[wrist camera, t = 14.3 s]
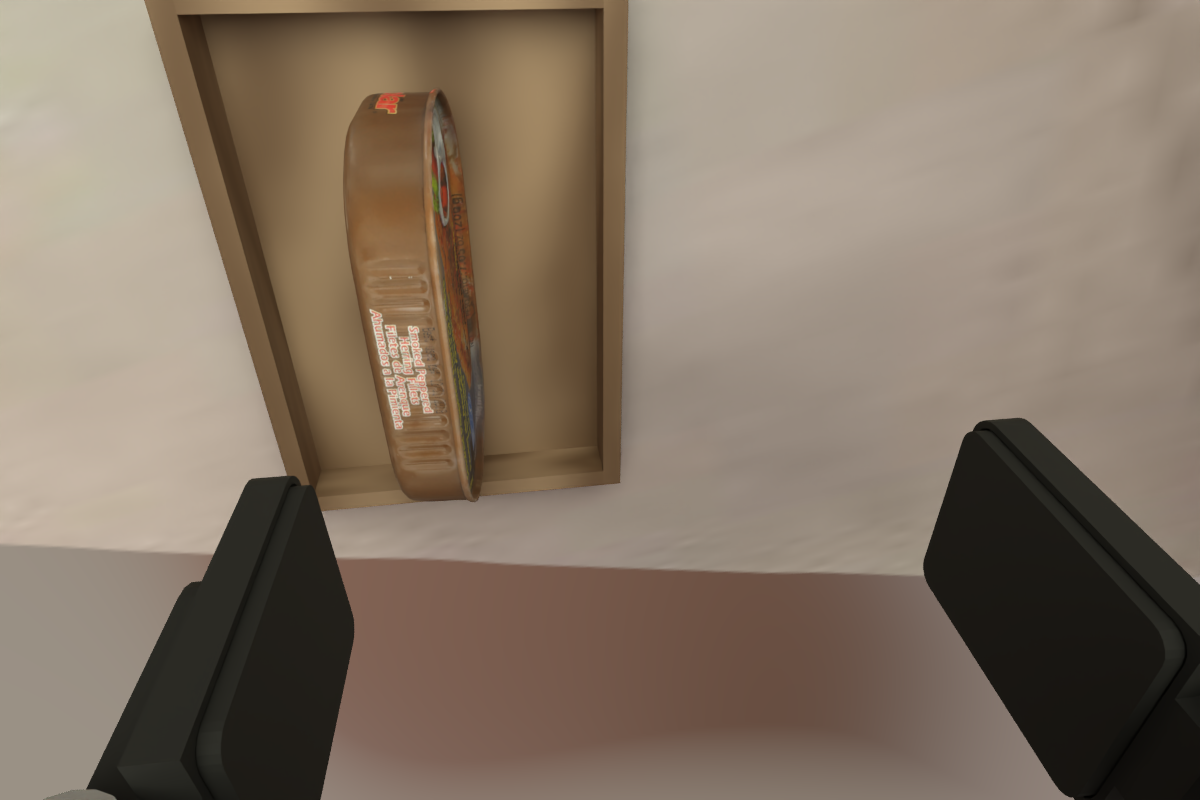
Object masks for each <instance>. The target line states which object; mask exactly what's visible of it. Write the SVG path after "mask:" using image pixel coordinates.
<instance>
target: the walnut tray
mask: <svg viewBox="0 0 1200 800" xmlns="http://www.w3.org/2000/svg"><path fill="white" fill-rule="evenodd" d="M144 1H145V4H146V8H147V11H148V14H149V17H150V21H151V24H152V27H153V31H154V34H155V37H156V41H157V44H158V47H159V51H160V54H161V57H162V61H163V64H164V67H165V71H166V74H167V77H168V81H169V84H170V87H171V91H172V94H173V97H174V101H175V104H176V107H177V111H178V114H179V117H180V121H181V124H182V127H183V131H184V134H185V137H186V141H187V144H188V147H189V151H190V154H191V157H192V160H193V164H194V167H195V170H196V174H197V177H198V180H199V184H200V187H201V190H202V194H203V197H204V200H205V204H206V207H207V210H208V214H209V217H210V220H211V224H212V227H213V230H214V234H215V237H216V240H217V244H218V247H219V250H220V254H221V257H222V260H223V264H224V267H225V270H226V274H227V277H228V280H229V284H230V287H231V290H232V294H233V297H234V300H235V304H236V307H237V310H238V313H239V317H240V320H241V323H242V327H243V330H244V333H245V337H246V340H247V343H248V347H249V350H250V353H251V357H252V360H253V363H254V367H255V370H256V373H257V377H258V380H259V383H260V387H261V390H262V393H263V397H264V400H265V403H266V407H267V410H268V413H269V417H270V420H271V423H272V427H273V430H274V433H275V437H276V440H277V443H278V447H279V450H280V453H281V457H282V460H283V463H284V466H285V470H286V473H287V476H296V477H297V478H298V479H299V481H300V483H301V486H302V485H312V486H313V488H314V490H315V492H316V495H317V498H318V502H319V505H320V508H321V511H327V510H338V509H348V508H359V507H370V506H380V505H391V504H402V503H413V502H423V501H415V500H412V499H410V498H408V497H407V496H406V495H405V494H404V493H403V492H402V490H401V488H400V486H399V484H398V482H397V479H396V477H395V474H394V470H393V467H392V463H391V459H390V455H389V450H388V446H387V441H386V436H385V431H384V428H383V423H382V417H381V413H380V409H379V404H378V399H377V395H376V390H375V384H374V379H373V375H372V370H371V366H370V361H369V356H368V351H367V346H366V341H365V336H364V331H363V326H362V321H361V316H360V310H359V306H358V300H357V295H356V289H355V284H354V280H353V274H352V269H351V263H350V257H349V251H348V243H347V234H346V225H345V215H344V199H343V166H344V149H345V141H346V135H347V131H348V127H349V125H350V123H351V121H352V119H353V117H354V116H355V114H356V112H357V110H358V108H359V106H360V105H361V103H362V101H363V100H364V99H365V98H366V97H367V96H369V95H372V94H377V93H398V92H431V91H432V90H433V89H435V88H439V89H441V90H442V91H443V92H444V94H445V95H446V97H447V100H448V103H449V105H450V108H451V112H452V115H453V119H454V123H455V128H456V133H457V139H458V144H459V151H460V157H461V164H462V170H463V179H464V188H465V197H466V206H467V215H468V225H469V235H470V245H471V255H472V265H473V274H474V284H475V293H476V303H477V312H478V321H479V331H480V341H481V353H482V364H483V378H484V395H485V419H484V467H483V479H482V486H481V492H480V495H479V496H487V495H498V494H509V493H519V492H530V491H541V490H551V489H562V488H573V487H583V486H594V485H605V484H615V483H620V458H621V398H622V339H623V280H624V221H625V162H626V102H627V43H628V0H144Z"/></svg>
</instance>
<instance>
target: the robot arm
mask: <svg viewBox="0 0 1200 800" xmlns="http://www.w3.org/2000/svg"><path fill="white" fill-rule="evenodd" d="M923 570H924V576H925V578H926V581H927V583H928V585H929V587H930V589H931V590H932V592H933V593H934V595H935V597H936V598H937V600H938V601H939V603H940V604H941V606H942V608H943V609H944V611H945V612H946V614H947V615H948V617H949V619H950V620H951V622H952V623H953V625H954V626H955V628H956V630H957V631H958V633H959V634H960V636H961V637H962V639H963V641H964V642H965V644H966V645H967V647H968V648H969V650H970V651H971V653H972V655H973V656H974V658H975V659H976V661H977V663H978V664H979V666H980V667H981V669H982V670H983V672H984V674H985V675H986V677H987V678H988V680H989V681H990V683H991V685H992V686H993V687H994V689H995V691H996V692H997V694H998V695H999V697H1000V699H1001V700H1002V702H1003V703H1004V705H1005V707H1006V708H1007V710H1008V711H1009V713H1010V714H1011V716H1012V717H1013V719H1014V721H1015V722H1016V724H1017V725H1018V727H1019V728H1020V730H1021V732H1022V733H1023V735H1024V736H1025V738H1026V739H1027V741H1028V743H1029V744H1030V746H1031V747H1032V749H1033V750H1034V752H1035V753H1036V755H1037V757H1038V758H1039V760H1040V761H1041V763H1042V764H1043V766H1044V768H1045V769H1046V771H1047V772H1048V774H1049V776H1050V777H1051V779H1052V780H1053V782H1054V783H1055V785H1056V786H1057V787H1058V789H1059V790H1060V791H1061V792H1062V793H1064V794H1065V795H1066V796H1068V797H1073V798H1074V799H1075V800H1200V585H1199V584H1198V583H1197V582H1196V581H1195V580H1194V579H1193V578H1192V577H1191V576H1190V575H1189V574H1188V573H1187V572H1186V571H1185V570H1184V569H1183V568H1182V567H1181V566H1180V565H1178V564H1177V563H1176V562H1175V561H1174V560H1173V559H1172V558H1171V557H1170V556H1169V555H1168V554H1167V553H1166V552H1165V551H1164V550H1163V549H1162V548H1161V547H1160V546H1159V545H1158V544H1157V543H1155V542H1154V541H1153V540H1152V539H1151V538H1150V537H1149V536H1148V535H1147V534H1146V533H1145V532H1144V531H1143V530H1142V529H1141V528H1140V527H1139V526H1138V525H1137V524H1136V523H1135V522H1134V521H1132V520H1131V519H1130V518H1129V517H1128V516H1127V515H1126V514H1125V513H1124V512H1123V511H1122V510H1121V509H1120V508H1119V507H1118V506H1117V505H1116V504H1115V503H1114V502H1113V501H1112V500H1111V499H1109V498H1108V497H1107V496H1106V495H1105V494H1104V493H1103V492H1102V491H1101V490H1100V489H1099V488H1098V487H1097V486H1096V485H1095V484H1094V483H1093V482H1092V481H1091V480H1090V479H1089V478H1088V477H1087V476H1085V475H1084V474H1083V473H1082V472H1081V471H1080V470H1079V469H1078V468H1077V467H1076V466H1075V465H1074V464H1073V463H1072V462H1071V461H1070V460H1069V459H1068V458H1067V457H1066V456H1065V455H1064V454H1062V453H1061V452H1060V451H1059V450H1058V449H1057V448H1056V447H1055V446H1054V445H1053V444H1052V443H1051V442H1050V441H1049V440H1048V439H1047V438H1046V437H1045V436H1044V435H1043V434H1042V433H1041V432H1039V431H1038V430H1037V429H1036V428H1035V427H1034V426H1033V425H1032V424H1031V423H1030V422H1028V421H1027V420H1025V419H1022V418H1012V419H999V420H986V421H982V422H979V423H978V424H977V425H976V426H975V428H974V430H973V431H972V432H968V433H967V434H966V435H965V437H964V439H963V441H962V444H961V447H960V450H959V454H958V457H957V460H956V463H955V466H954V469H953V472H952V475H951V478H950V481H949V484H948V487H947V490H946V494H945V497H944V500H943V503H942V506H941V509H940V512H939V515H938V518H937V521H936V524H935V527H934V531H933V534H932V537H931V540H930V543H929V546H928V549H927V552H926V555H925V558H924V563H923ZM353 640H354V619H353V614H352V611H351V607H350V604H349V601H348V597H347V594H346V591H345V587H344V584H343V581H342V578H341V574H340V571H339V568H338V565H337V561H336V558H335V554H334V551H333V548H332V545H331V541H330V538H329V535H328V531H327V528H326V525H325V521H324V518H323V515H322V511H321V508H320V505H319V502H318V498H317V495H316V492H315V490H314V488H313V486H312V485H302V486H301V483H300V481H299V479H298V478H297V477H296V476H281V477H268V478H256V479H251V480H249V481H248V483H247V484H246V486H245V488H244V490H243V492H242V494H241V496H240V499H239V501H238V503H237V505H236V507H235V510H234V512H233V514H232V516H231V518H230V520H229V523H228V525H227V527H226V529H225V531H224V534H223V536H222V538H221V540H220V542H219V545H218V547H217V549H216V551H215V553H214V556H213V558H212V560H211V562H210V564H209V566H208V569H207V571H206V573H205V575H204V577H203V580H202V581H200V582H191V583H190V584H189V585H188V586H186V587H185V588H184V590H183V591H182V593H181V595H180V596H179V597H178V599H177V601H176V603H175V605H174V607H173V610H172V612H171V614H170V616H169V618H168V620H167V622H166V624H165V626H164V628H163V630H162V633H161V635H160V637H159V639H158V641H157V643H156V645H155V647H154V649H153V651H152V653H151V655H150V657H149V660H148V662H147V664H146V666H145V668H144V670H143V672H142V674H141V676H140V678H139V681H138V683H137V684H136V687H135V689H134V691H133V693H132V695H131V697H130V699H129V701H128V703H127V705H126V707H125V709H124V712H123V714H122V716H121V718H120V720H119V722H118V724H117V727H116V728H115V730H114V732H113V734H112V737H111V739H110V741H109V743H108V745H107V747H106V749H105V751H104V753H103V755H102V757H101V759H100V762H99V764H98V766H97V768H96V770H95V772H94V774H93V776H92V778H91V780H90V782H89V785H88V787H87V789H86V790H71V791H68V792H65V793H61V794H58V795H55V796H51V797H48V798H46V799H44V800H320V799H321V794H322V790H323V785H324V780H325V775H326V770H327V765H328V761H329V756H330V751H331V746H332V742H333V736H334V732H335V727H336V722H337V718H338V712H339V708H340V703H341V698H342V694H343V689H344V684H345V679H346V674H347V669H348V664H349V660H350V655H351V650H352V646H353Z"/></svg>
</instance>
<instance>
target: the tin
mask: <svg viewBox="0 0 1200 800" xmlns="http://www.w3.org/2000/svg"><path fill="white" fill-rule="evenodd" d="M343 199H344V215H345V225H346V234H347V243H348V251H349V257H350V263H351V269H352V274H353V280H354V284H355V289H356V295H357V300H358V306H359V310H360V316H361V321H362V326H363V331H364V336H365V341H366V346H367V351H368V356H369V361H370V366H371V370H372V375H373V379H374V384H375V390H376V395H377V399H378V404H379V409H380V413H381V417H382V423H383V428H384V431H385V436H386V441H387V446H388V450H389V455H390V459H391V463H392V467H393V470H394V474H395V477H396V479H397V482H398V484H399V486H400V488H401V490H402V492H403V493H404V494H405V495H406V496H407V497H408V498H410V499H412V500H415V501H447V500H469V501H471V502H476V501H477V500H478V498H479V495H480V492H481V486H482V479H483V467H484V419H485V395H484V378H483V364H482V353H481V341H480V331H479V321H478V312H477V303H476V293H475V284H474V274H473V265H472V255H471V245H470V235H469V225H468V215H467V206H466V197H465V188H464V179H463V170H462V164H461V157H460V151H459V144H458V139H457V133H456V128H455V123H454V119H453V115H452V112H451V108H450V105H449V103H448V100H447V97H446V95H445V94H444V92H443V91H442V90H441V89H439V88H435V89H433V90H432V91H431V92H398V93H377V94H372V95H369V96H367V97H366V98H365V99H364V100H363V101H362V103H361V105H360V106H359V108H358V110H357V112H356V114H355V116H354V117H353V119H352V121H351V123H350V125H349V127H348V131H347V135H346V141H345V149H344V166H343Z"/></svg>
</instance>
